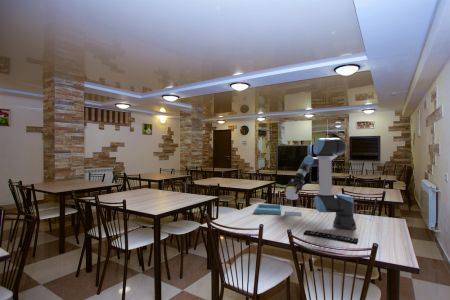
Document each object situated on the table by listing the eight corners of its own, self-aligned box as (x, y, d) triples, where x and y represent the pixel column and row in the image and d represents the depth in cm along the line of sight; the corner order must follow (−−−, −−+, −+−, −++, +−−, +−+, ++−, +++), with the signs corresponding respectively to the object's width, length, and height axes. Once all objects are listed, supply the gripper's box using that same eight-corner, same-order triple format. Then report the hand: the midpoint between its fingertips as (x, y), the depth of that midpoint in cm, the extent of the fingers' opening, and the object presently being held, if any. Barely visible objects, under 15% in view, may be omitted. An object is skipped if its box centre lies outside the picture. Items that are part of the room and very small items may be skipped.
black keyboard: (305, 231, 175) (305, 229, 175) (357, 240, 158) (357, 237, 158) (302, 235, 169) (302, 232, 169) (356, 244, 152) (356, 241, 152)
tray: (281, 215, 216) (281, 210, 216) (255, 213, 221) (255, 209, 221) (281, 209, 237) (281, 205, 237) (258, 208, 242) (258, 203, 242)
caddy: (291, 197, 224) (291, 186, 224) (298, 198, 218) (297, 187, 218) (286, 198, 219) (286, 187, 219) (293, 199, 214) (293, 188, 214)
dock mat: (301, 217, 210) (301, 216, 210) (284, 216, 213) (284, 215, 213) (301, 213, 223) (301, 212, 223) (284, 212, 227) (284, 211, 227)
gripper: (312, 178, 221) (301, 200, 211) (292, 177, 236) (282, 196, 226) (308, 173, 217) (298, 194, 207) (289, 171, 233) (278, 191, 222)
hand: (289, 195), depth 216 cm, fingers closed on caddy, 7 cm apart
